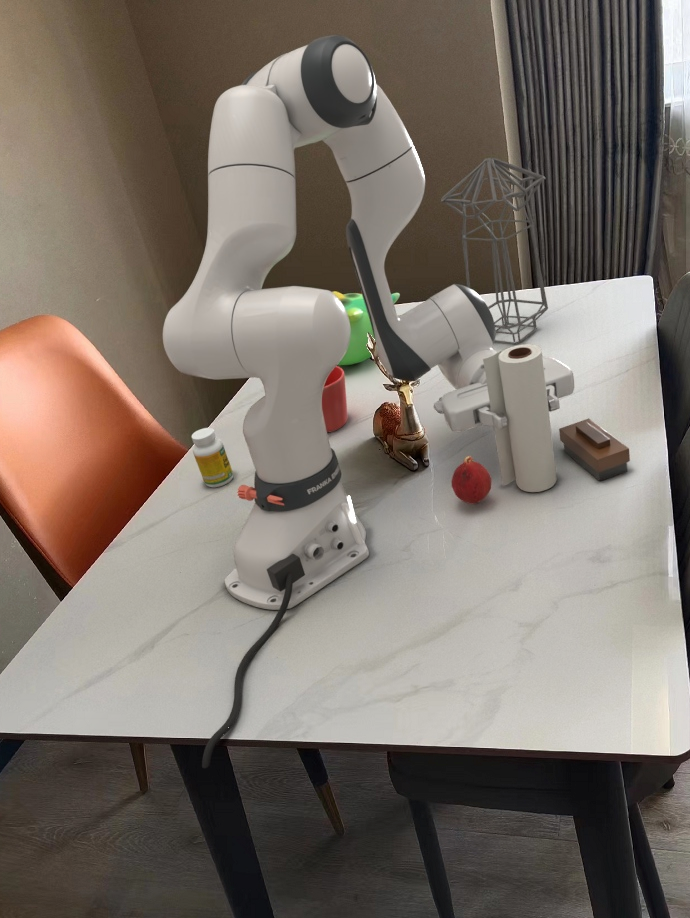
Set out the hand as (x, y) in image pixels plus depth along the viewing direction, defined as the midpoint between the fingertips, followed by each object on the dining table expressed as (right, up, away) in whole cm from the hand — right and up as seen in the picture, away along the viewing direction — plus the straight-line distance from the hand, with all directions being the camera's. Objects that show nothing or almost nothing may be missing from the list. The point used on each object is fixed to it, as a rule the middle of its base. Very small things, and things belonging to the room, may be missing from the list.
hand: (529, 414), depth 123 cm
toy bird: (-26, +21, +63) cm, 71 cm away
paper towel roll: (+2, -9, +7) cm, 12 cm away
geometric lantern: (+6, +24, +56) cm, 62 cm away
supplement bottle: (-50, -8, +30) cm, 59 cm away
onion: (-7, -13, +6) cm, 16 cm away
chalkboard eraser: (+12, -6, +9) cm, 16 cm away
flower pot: (-31, +3, +39) cm, 51 cm away
